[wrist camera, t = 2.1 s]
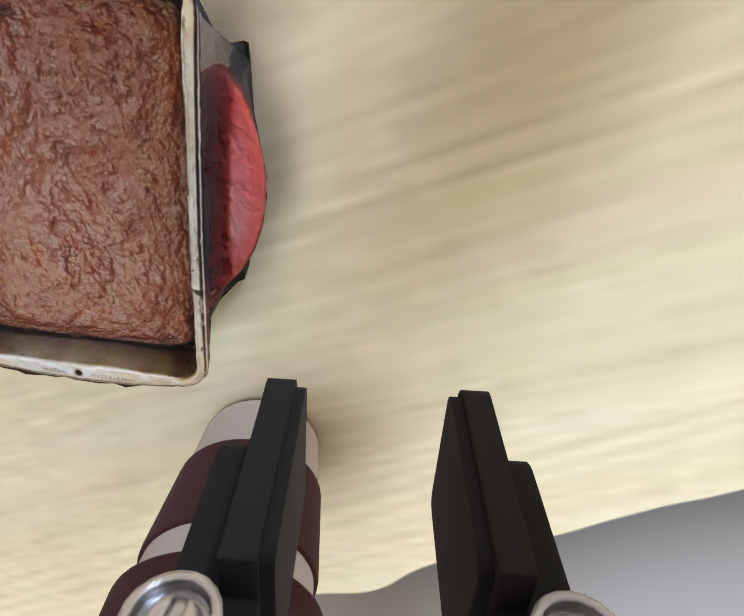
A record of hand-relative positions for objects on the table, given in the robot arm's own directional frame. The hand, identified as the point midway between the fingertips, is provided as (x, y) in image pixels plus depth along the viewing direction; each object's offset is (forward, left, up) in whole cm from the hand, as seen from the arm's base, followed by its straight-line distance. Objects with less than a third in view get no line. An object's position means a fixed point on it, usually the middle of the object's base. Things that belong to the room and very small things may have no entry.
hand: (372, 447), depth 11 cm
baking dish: (0, -12, -19) cm, 23 cm away
